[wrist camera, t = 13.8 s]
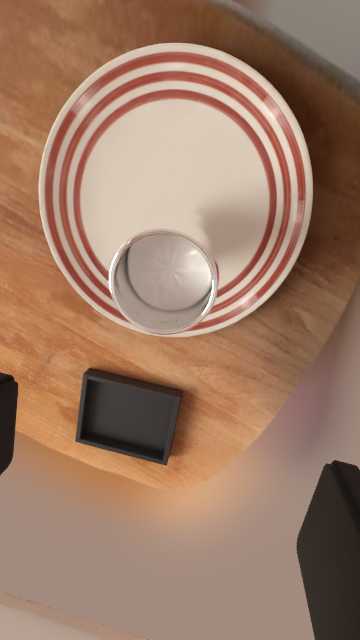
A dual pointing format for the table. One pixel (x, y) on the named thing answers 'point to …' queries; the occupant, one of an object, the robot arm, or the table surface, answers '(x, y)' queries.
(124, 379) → the tray
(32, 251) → the table surface
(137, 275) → the beer glass
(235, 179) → the dinner plate
